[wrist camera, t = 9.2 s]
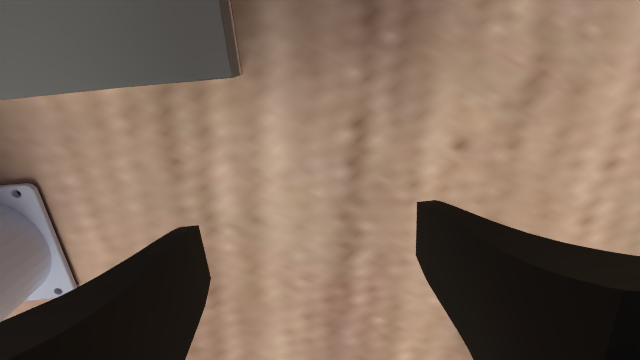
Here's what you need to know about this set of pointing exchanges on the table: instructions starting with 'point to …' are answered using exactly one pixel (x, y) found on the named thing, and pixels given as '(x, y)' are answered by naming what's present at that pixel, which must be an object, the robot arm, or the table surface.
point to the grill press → (107, 44)
